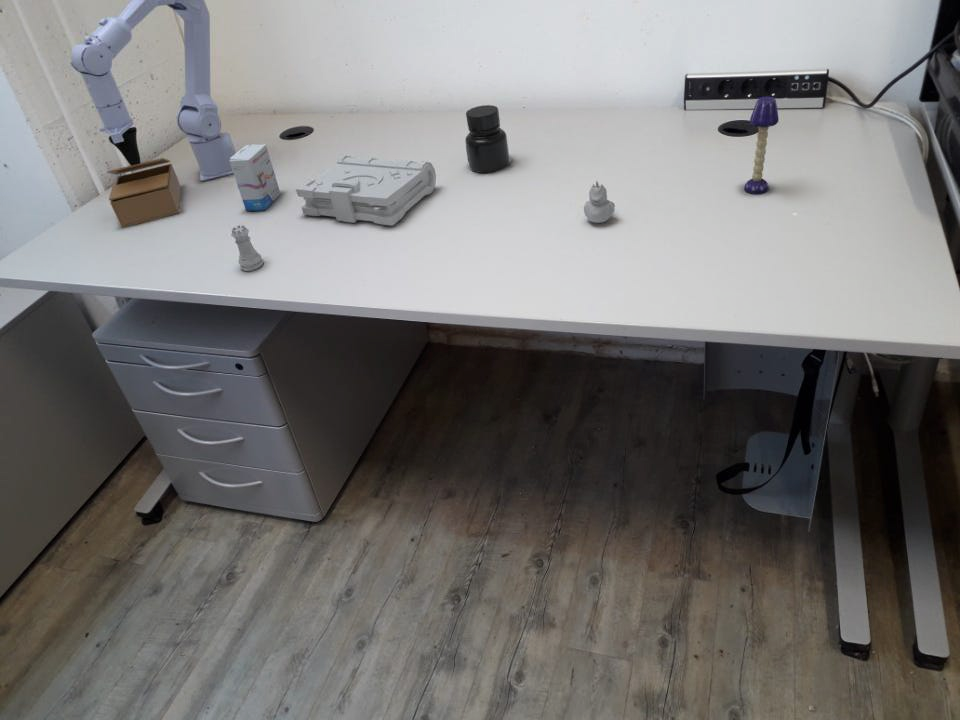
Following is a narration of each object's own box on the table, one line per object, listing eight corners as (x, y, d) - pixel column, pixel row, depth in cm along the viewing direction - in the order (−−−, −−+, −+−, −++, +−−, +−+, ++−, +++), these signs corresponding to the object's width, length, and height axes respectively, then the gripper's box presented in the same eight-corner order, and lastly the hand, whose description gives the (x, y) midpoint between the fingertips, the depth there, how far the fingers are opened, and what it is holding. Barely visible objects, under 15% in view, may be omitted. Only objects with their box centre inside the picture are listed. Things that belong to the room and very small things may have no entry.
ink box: (266, 211, 162) (248, 158, 155) (245, 211, 163) (226, 160, 156) (282, 193, 168) (265, 142, 161) (262, 194, 170) (244, 143, 162)
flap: (116, 174, 174) (115, 173, 174) (170, 161, 176) (169, 160, 176) (107, 173, 167) (106, 171, 167) (163, 159, 169) (163, 157, 169)
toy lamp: (773, 184, 138) (782, 94, 128) (769, 196, 135) (778, 104, 125) (746, 183, 140) (752, 94, 130) (741, 194, 137) (748, 103, 127)
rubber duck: (581, 227, 136) (578, 186, 131) (589, 210, 141) (587, 170, 136) (610, 228, 134) (609, 186, 129) (618, 211, 139) (617, 170, 134)
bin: (127, 200, 178) (115, 173, 174) (181, 187, 180) (170, 160, 176) (121, 227, 166) (108, 199, 162) (179, 213, 168) (167, 184, 164)
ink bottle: (500, 153, 169) (493, 99, 162) (518, 164, 162) (512, 109, 155) (461, 165, 166) (452, 112, 159) (478, 178, 160) (469, 122, 152)
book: (336, 177, 171) (328, 145, 167) (441, 187, 159) (435, 152, 154) (282, 216, 158) (271, 182, 154) (392, 230, 146) (383, 194, 141)
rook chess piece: (242, 262, 144) (228, 224, 139) (265, 258, 144) (252, 220, 139) (238, 273, 140) (224, 235, 136) (262, 269, 140) (248, 231, 136)
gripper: (94, 98, 166) (120, 157, 174) (85, 117, 154) (114, 179, 162) (126, 91, 167) (151, 149, 175) (120, 109, 155) (147, 171, 163)
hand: (135, 163), depth 169 cm, fingers closed
